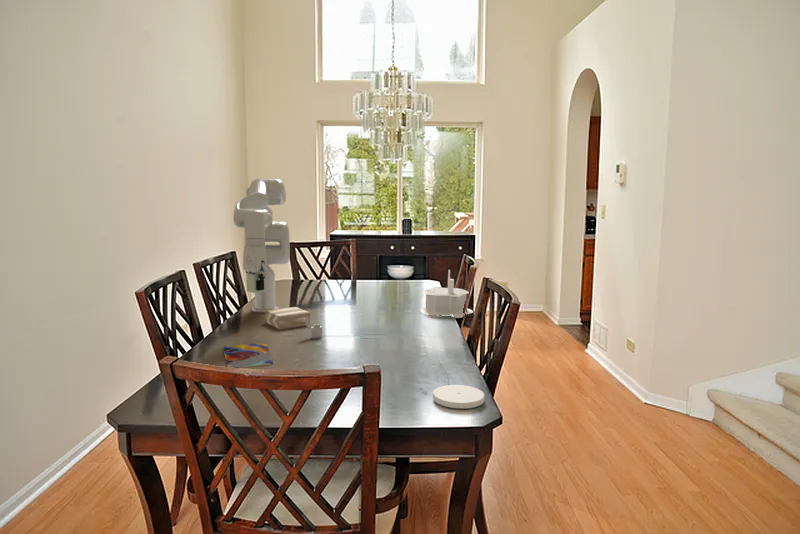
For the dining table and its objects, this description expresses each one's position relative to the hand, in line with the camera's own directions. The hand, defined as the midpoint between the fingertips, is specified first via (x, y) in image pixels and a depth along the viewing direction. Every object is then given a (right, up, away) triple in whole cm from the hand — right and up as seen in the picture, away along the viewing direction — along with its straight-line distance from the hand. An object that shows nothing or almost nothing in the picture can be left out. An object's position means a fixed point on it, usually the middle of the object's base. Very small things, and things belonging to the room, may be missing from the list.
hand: (256, 288), depth 215 cm
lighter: (+22, -20, +2) cm, 29 cm away
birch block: (+8, -17, +24) cm, 30 cm away
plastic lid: (+72, -29, -62) cm, 99 cm away
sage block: (0, -1, 0) cm, 1 cm away
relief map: (+3, -23, -23) cm, 33 cm away
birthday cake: (+78, -14, +52) cm, 94 cm away
